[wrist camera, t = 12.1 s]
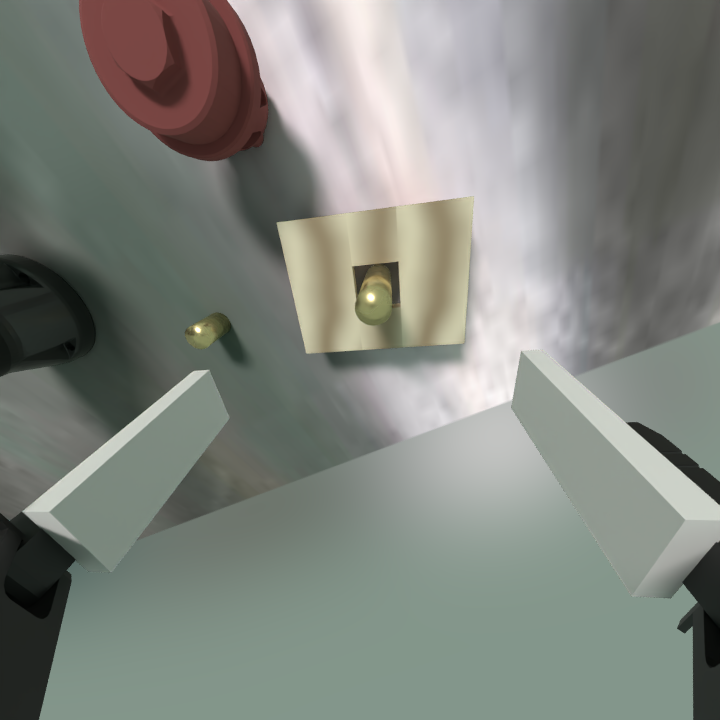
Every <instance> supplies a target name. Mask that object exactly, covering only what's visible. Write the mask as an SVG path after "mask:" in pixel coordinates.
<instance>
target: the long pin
mask: <svg viewBox="0 0 720 720" xmlns="http://www.w3.org/2000/svg"><path fill="white" fill-rule="evenodd" d="M391 312H392V288H391V273H390V271H389V269H388V268H387V267H386V266H384V265H382V264H375V265H373V266H371V267H370V268H369V269H368V271H367V273H366V276H365V278H364V281H363V284H362V286H361V289H360V292H359V294H358V297H357V300H356V302H355V313H356V315H357V317H358V318H359V320H360V321H362V322H363V323H365V324H367V325H370V326H377V325H380V324H383V323H384V322H386V321H387V320H388V318H389V317H390V315H391Z"/></svg>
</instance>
